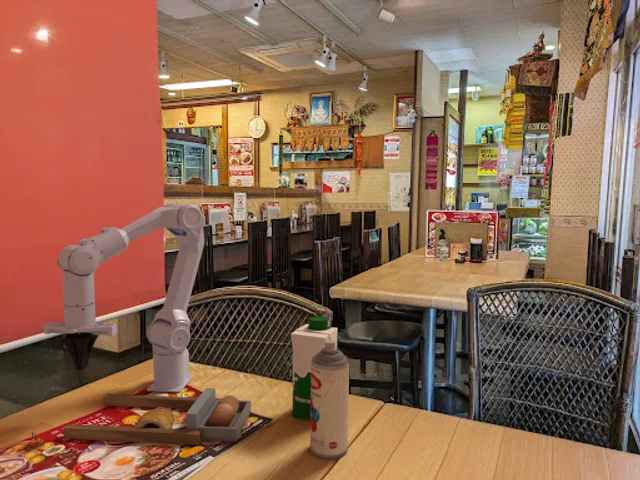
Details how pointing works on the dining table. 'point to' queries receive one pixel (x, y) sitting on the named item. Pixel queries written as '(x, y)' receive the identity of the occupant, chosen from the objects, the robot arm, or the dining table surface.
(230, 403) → the roller
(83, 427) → the rail
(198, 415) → the block
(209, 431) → the cradle
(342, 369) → the aerosol can
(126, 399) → the rail
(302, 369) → the milk carton
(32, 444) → the round teapot
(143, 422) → the pastry
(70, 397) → the dining table surface
